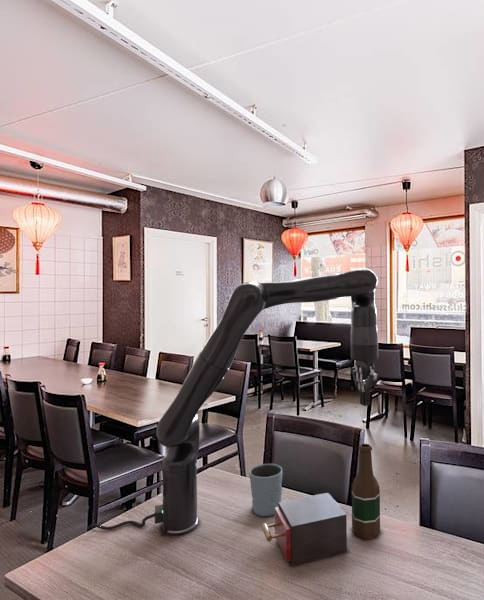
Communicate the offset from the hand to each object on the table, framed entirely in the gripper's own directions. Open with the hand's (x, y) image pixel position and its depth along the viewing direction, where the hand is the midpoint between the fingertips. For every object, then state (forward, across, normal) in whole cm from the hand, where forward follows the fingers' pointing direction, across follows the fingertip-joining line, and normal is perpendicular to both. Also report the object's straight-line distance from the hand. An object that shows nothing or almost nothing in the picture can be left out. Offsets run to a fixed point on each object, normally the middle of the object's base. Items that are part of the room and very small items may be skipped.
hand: (365, 404), depth 114 cm
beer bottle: (+36, 0, 0) cm, 36 cm away
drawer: (+34, 0, -20) cm, 40 cm away
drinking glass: (+35, -22, -23) cm, 48 cm away
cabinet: (+35, 0, -16) cm, 39 cm away
